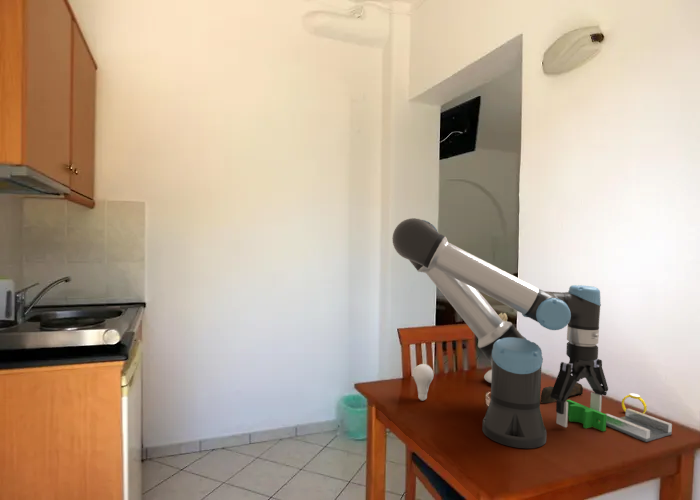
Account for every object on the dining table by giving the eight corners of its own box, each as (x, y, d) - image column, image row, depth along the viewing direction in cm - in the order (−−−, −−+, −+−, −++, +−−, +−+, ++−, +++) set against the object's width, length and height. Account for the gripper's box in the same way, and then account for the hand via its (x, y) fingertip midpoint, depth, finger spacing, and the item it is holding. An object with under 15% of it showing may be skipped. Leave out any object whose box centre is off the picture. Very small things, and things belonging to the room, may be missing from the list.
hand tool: (571, 392, 144) (572, 378, 144) (583, 396, 141) (583, 381, 141) (533, 401, 135) (533, 386, 135) (544, 405, 132) (544, 390, 132)
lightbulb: (411, 402, 130) (412, 366, 130) (413, 395, 136) (414, 360, 136) (432, 405, 129) (433, 368, 128) (433, 398, 135) (434, 362, 134)
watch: (646, 417, 125) (649, 397, 125) (643, 420, 123) (646, 400, 123) (622, 409, 129) (625, 390, 129) (619, 412, 128) (622, 392, 127)
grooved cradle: (645, 442, 109) (646, 431, 109) (603, 424, 119) (604, 414, 119) (671, 434, 114) (671, 423, 114) (628, 418, 124) (629, 408, 123)
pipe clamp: (559, 417, 123) (559, 401, 123) (568, 415, 125) (569, 399, 125) (596, 433, 113) (597, 416, 113) (605, 431, 115) (606, 413, 115)
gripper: (562, 350, 109) (559, 434, 110) (625, 342, 120) (621, 419, 121) (538, 343, 116) (534, 422, 117) (599, 336, 127) (595, 409, 128)
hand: (578, 421), depth 119 cm, fingers open, 13 cm apart
